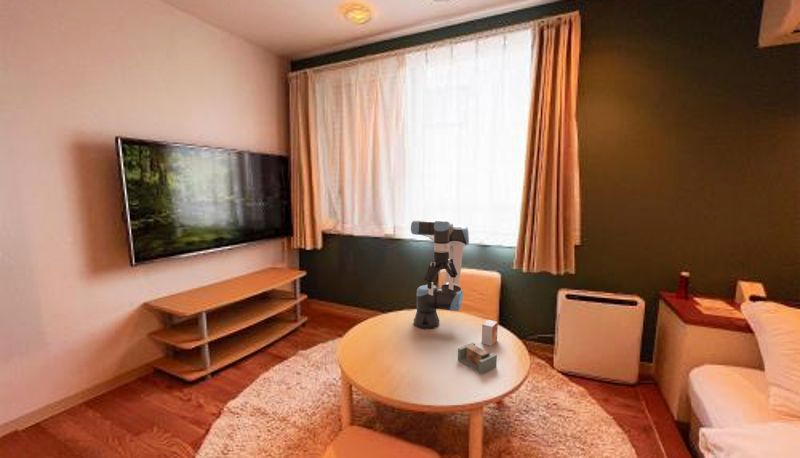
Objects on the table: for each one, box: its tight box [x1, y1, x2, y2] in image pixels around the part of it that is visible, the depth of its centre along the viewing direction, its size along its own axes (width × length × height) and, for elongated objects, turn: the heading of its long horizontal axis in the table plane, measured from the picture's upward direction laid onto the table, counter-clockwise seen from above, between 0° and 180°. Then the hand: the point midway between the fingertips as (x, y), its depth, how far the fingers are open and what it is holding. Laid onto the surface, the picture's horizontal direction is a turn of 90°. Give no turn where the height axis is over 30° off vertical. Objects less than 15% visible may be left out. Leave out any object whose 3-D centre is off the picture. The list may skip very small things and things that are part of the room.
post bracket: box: [457, 342, 498, 375], centre depth 153 cm, size 14×10×6 cm
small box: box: [481, 319, 499, 347], centre depth 173 cm, size 8×6×10 cm
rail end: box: [466, 344, 491, 366], centre depth 152 cm, size 10×5×6 cm, turn 34°
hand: (441, 291), depth 166 cm, fingers open, 13 cm apart
